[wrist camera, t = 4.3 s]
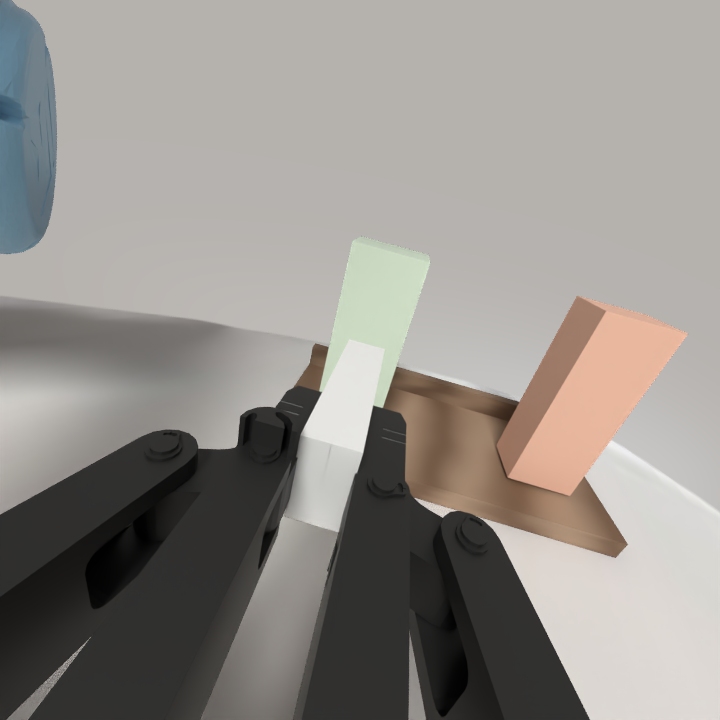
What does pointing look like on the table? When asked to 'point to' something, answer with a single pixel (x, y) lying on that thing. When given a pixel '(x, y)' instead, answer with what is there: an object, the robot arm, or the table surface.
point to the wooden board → (479, 461)
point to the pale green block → (377, 304)
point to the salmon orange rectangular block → (583, 392)
